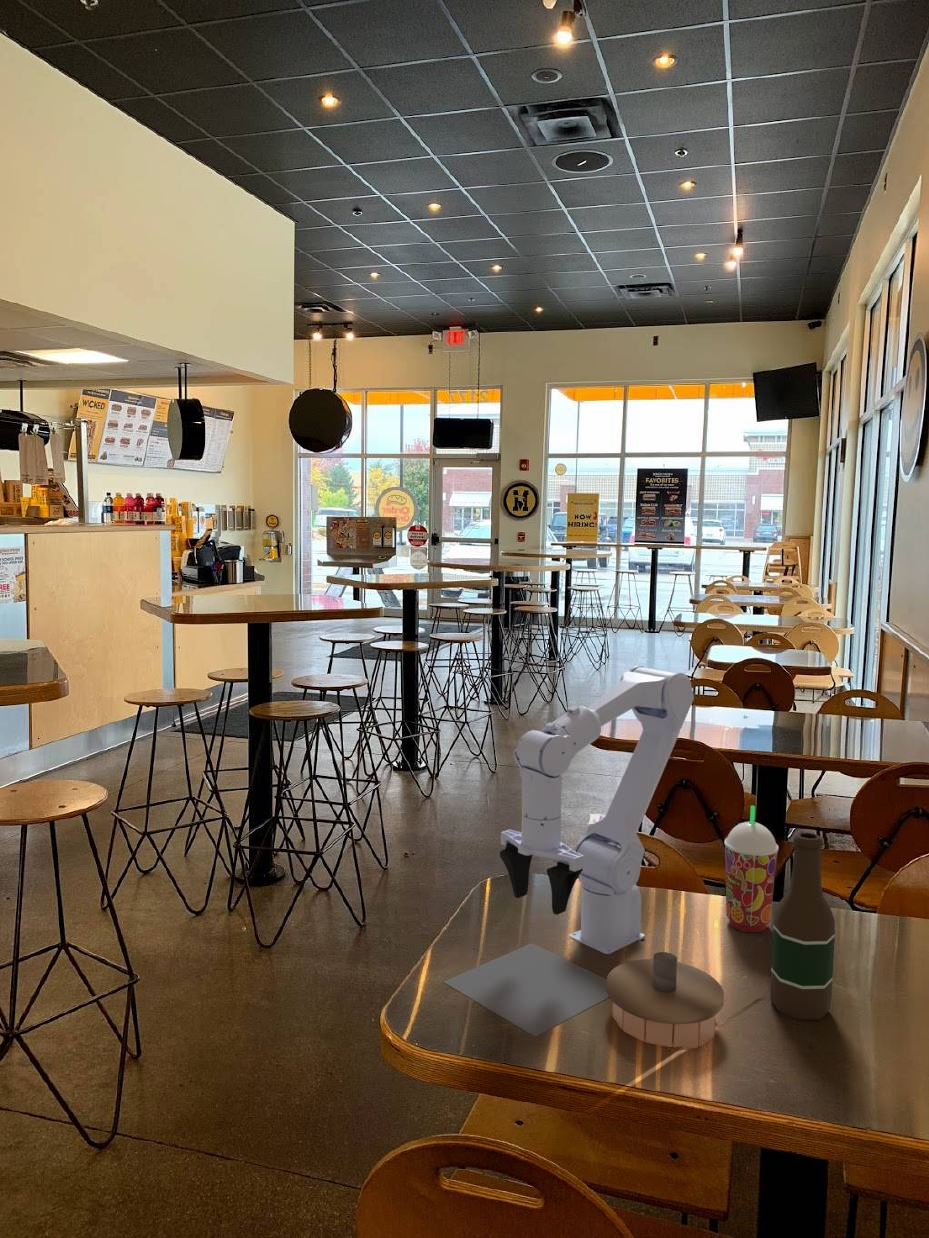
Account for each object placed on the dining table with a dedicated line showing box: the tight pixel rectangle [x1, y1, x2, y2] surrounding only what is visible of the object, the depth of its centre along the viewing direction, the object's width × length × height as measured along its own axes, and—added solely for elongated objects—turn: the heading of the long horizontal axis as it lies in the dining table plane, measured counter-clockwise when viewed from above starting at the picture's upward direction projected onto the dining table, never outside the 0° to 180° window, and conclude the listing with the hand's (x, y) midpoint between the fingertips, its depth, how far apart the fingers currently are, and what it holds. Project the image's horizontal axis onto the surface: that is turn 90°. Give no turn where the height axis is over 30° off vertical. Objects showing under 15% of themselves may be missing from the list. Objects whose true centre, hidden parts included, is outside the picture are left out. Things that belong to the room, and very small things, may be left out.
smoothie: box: [723, 805, 779, 933], centre depth 145 cm, size 8×8×20 cm
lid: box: [606, 951, 725, 1024], centre depth 117 cm, size 15×15×5 cm
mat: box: [443, 942, 610, 1038], centre depth 126 cm, size 18×18×1 cm
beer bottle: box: [769, 831, 836, 1021], centre depth 120 cm, size 8×8×24 cm
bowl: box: [612, 1001, 717, 1051], centre depth 118 cm, size 13×13×4 cm
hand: (539, 903), depth 131 cm, fingers open, 7 cm apart
